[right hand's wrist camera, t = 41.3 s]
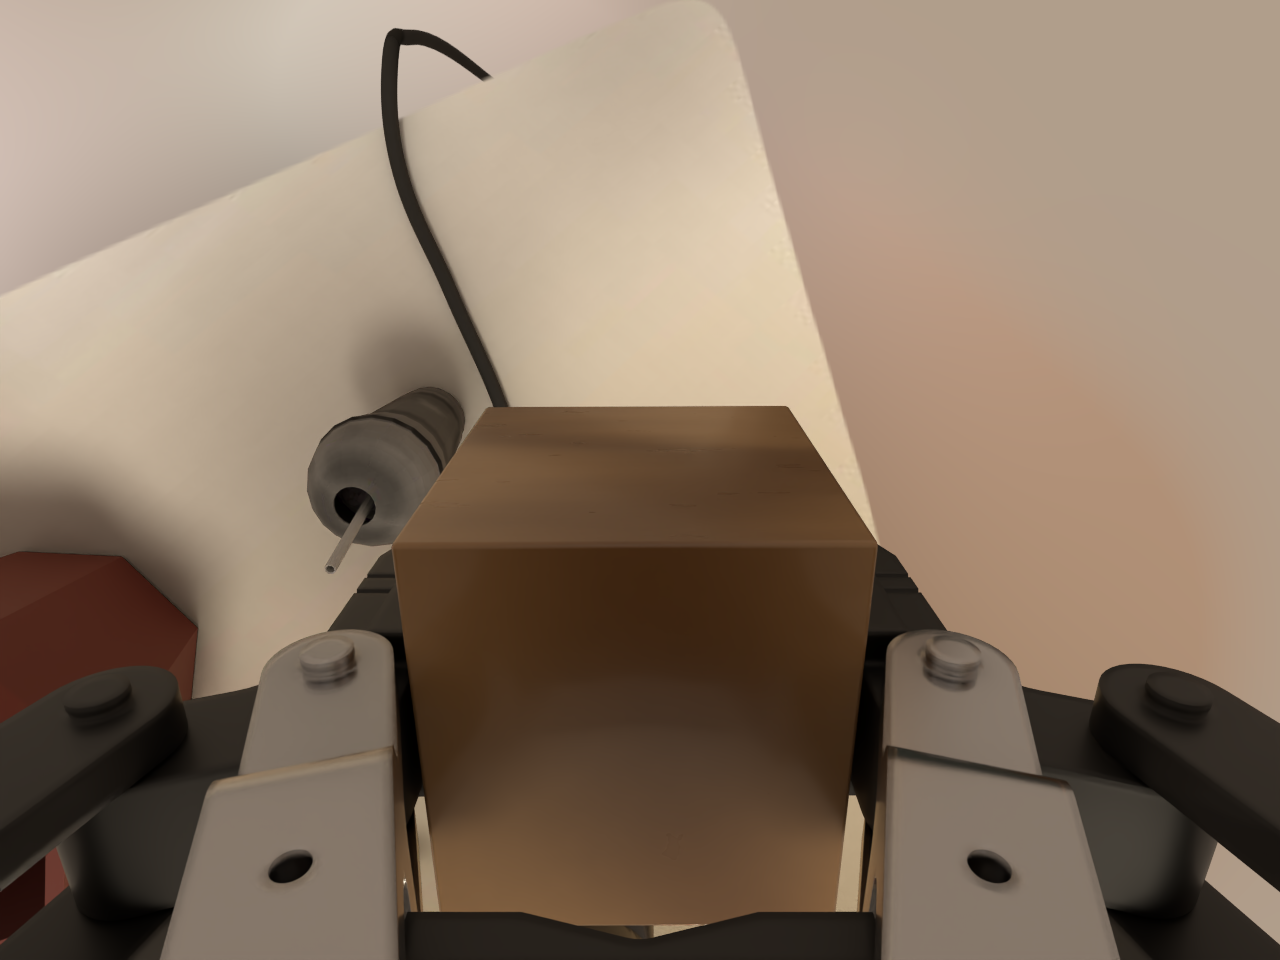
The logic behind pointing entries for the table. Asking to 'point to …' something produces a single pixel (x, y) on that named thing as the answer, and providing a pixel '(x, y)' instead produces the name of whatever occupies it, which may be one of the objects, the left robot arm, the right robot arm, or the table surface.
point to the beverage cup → (382, 467)
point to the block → (636, 664)
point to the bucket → (76, 658)
